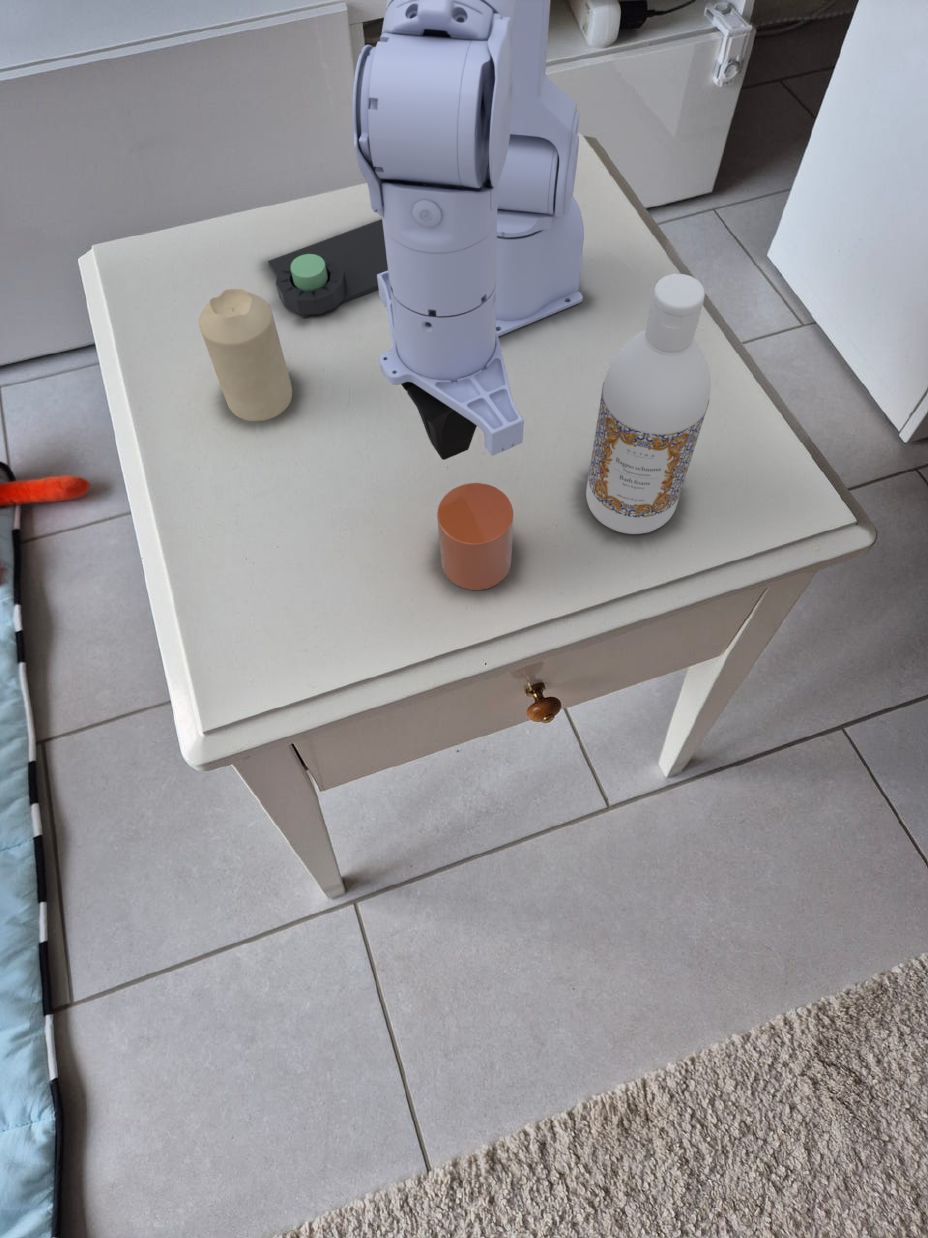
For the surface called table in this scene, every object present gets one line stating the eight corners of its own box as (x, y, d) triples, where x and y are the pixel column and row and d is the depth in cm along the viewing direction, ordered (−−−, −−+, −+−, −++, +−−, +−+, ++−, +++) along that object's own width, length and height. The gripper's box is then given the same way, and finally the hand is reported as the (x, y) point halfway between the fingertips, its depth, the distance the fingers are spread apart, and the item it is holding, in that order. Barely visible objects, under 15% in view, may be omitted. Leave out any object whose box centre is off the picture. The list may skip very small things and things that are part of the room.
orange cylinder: (489, 521, 68) (489, 471, 63) (524, 571, 66) (527, 524, 61) (428, 549, 67) (424, 501, 62) (462, 601, 65) (460, 556, 60)
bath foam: (575, 524, 68) (606, 318, 50) (596, 455, 71) (633, 239, 54) (666, 547, 67) (730, 343, 49) (683, 475, 70) (749, 261, 53)
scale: (404, 215, 86) (402, 195, 84) (447, 270, 82) (446, 249, 80) (259, 269, 83) (253, 249, 81) (297, 328, 79) (292, 308, 77)
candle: (282, 426, 73) (254, 333, 65) (218, 417, 74) (182, 323, 65) (301, 377, 76) (277, 280, 67) (239, 368, 77) (207, 272, 68)
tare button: (319, 263, 80) (316, 249, 79) (333, 284, 79) (330, 269, 77) (288, 275, 79) (284, 260, 78) (301, 296, 78) (298, 281, 77)
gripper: (319, 227, 50) (351, 398, 62) (439, 396, 44) (449, 551, 56) (431, 187, 52) (441, 361, 64) (562, 344, 45) (546, 506, 57)
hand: (451, 447), depth 60 cm, fingers closed
